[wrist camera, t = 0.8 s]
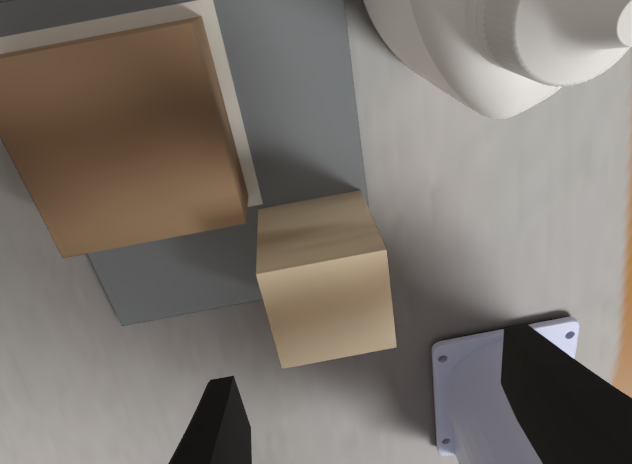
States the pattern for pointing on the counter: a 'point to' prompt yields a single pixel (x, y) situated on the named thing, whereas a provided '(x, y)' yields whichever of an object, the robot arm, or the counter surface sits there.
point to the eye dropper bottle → (504, 46)
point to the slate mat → (246, 124)
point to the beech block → (324, 279)
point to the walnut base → (123, 137)
